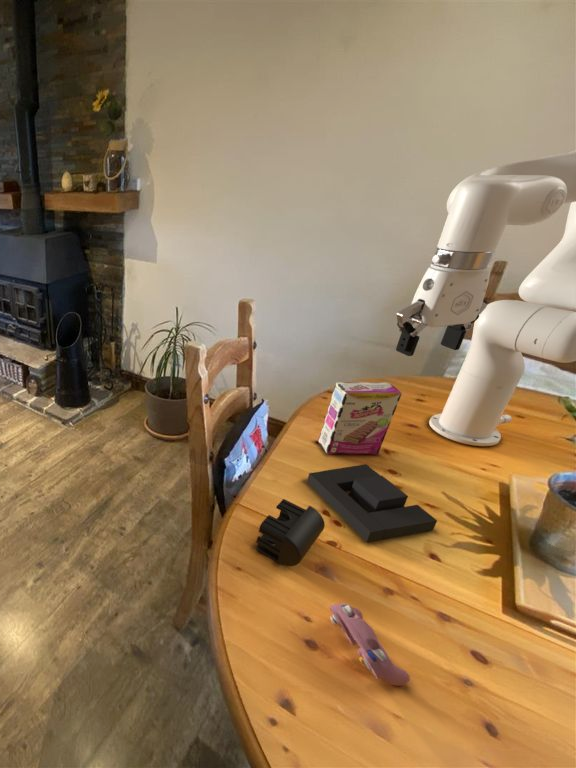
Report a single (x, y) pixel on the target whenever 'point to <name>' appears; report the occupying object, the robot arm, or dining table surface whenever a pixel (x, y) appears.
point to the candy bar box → (358, 417)
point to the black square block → (377, 494)
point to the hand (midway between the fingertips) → (426, 350)
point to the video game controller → (367, 644)
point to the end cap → (289, 533)
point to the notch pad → (365, 524)
